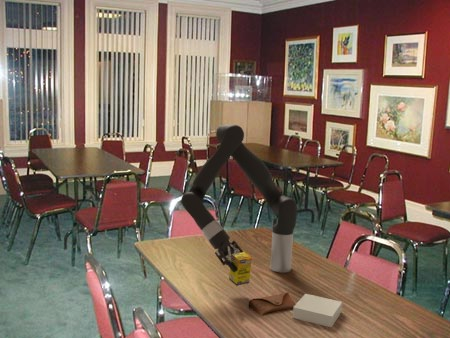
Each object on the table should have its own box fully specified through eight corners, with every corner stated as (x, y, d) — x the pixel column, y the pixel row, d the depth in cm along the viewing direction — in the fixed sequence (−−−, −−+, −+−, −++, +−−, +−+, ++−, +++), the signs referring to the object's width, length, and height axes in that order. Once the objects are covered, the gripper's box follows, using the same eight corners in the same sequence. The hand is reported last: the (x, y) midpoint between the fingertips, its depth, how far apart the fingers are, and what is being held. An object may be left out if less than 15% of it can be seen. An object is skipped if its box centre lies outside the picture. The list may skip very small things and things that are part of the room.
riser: (304, 303, 193) (305, 293, 193) (341, 312, 187) (342, 301, 186) (292, 317, 181) (293, 307, 180) (331, 327, 175) (332, 316, 174)
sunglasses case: (260, 316, 181) (256, 297, 183) (250, 318, 186) (246, 300, 188) (301, 307, 189) (296, 289, 191) (290, 310, 195) (286, 292, 197)
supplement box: (236, 286, 195) (239, 260, 192) (228, 279, 199) (230, 253, 197) (249, 283, 198) (252, 257, 195) (241, 276, 203) (243, 251, 200)
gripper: (213, 233, 192) (239, 268, 189) (229, 224, 205) (254, 257, 202) (200, 244, 195) (226, 278, 192) (217, 235, 208) (242, 267, 205)
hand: (240, 267), depth 197 cm, fingers closed on supplement box, 8 cm apart
